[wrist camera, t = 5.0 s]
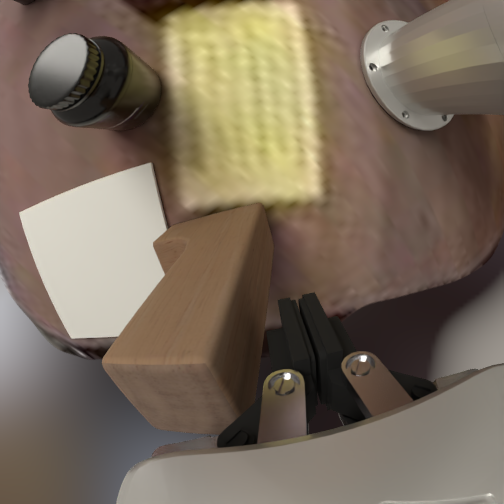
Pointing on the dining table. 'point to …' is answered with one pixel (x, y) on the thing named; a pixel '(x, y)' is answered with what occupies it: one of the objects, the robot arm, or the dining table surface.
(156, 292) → the wooden block
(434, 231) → the dining table surface
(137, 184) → the off-white mat
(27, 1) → the vinegar
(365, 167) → the dining table surface
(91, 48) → the supplement bottle
